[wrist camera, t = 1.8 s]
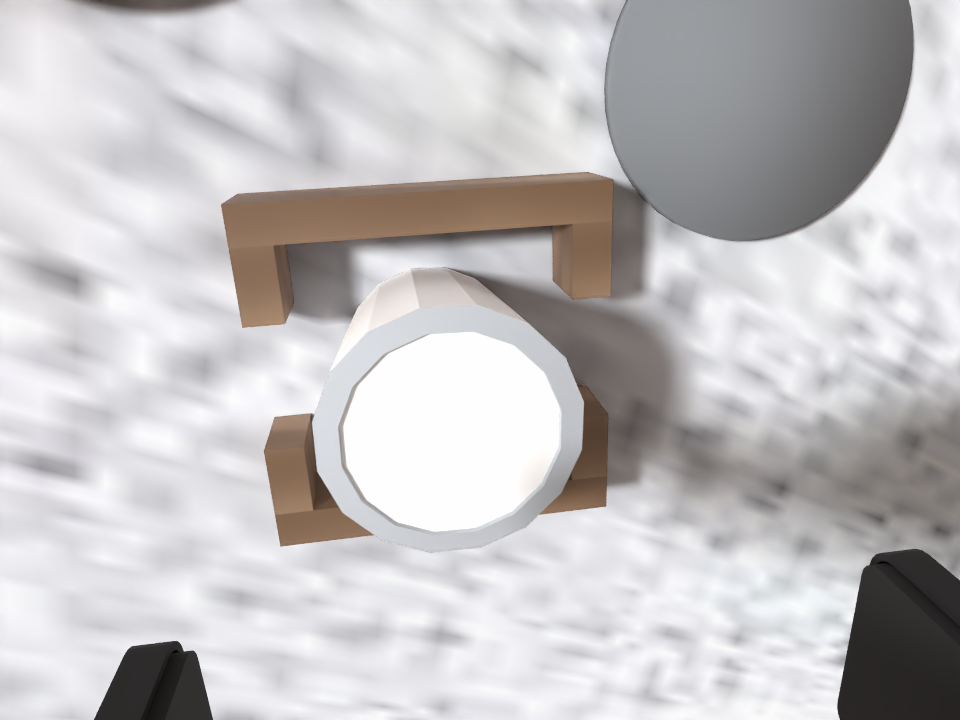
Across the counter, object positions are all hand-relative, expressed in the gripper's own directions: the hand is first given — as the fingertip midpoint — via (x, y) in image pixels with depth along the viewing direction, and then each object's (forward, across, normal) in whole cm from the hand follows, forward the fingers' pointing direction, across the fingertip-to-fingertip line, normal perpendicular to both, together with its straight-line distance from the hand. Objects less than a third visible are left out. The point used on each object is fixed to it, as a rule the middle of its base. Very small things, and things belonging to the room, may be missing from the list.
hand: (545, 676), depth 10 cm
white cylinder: (+15, +1, 0) cm, 15 cm away
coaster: (+15, -10, -8) cm, 20 cm away
